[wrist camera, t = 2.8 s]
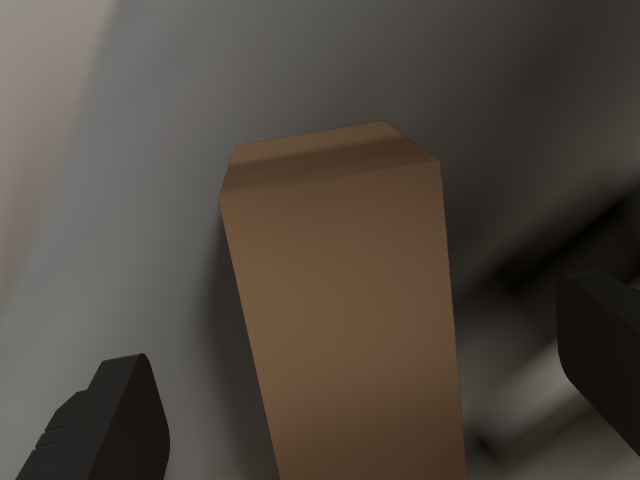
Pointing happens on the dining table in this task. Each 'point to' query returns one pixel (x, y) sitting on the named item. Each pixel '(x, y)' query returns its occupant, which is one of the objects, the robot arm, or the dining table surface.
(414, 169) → the brown rectangular block
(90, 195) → the dining table surface
